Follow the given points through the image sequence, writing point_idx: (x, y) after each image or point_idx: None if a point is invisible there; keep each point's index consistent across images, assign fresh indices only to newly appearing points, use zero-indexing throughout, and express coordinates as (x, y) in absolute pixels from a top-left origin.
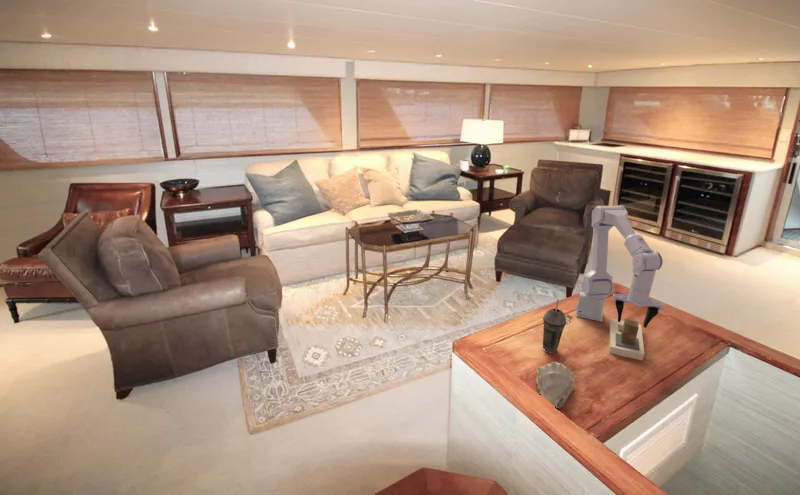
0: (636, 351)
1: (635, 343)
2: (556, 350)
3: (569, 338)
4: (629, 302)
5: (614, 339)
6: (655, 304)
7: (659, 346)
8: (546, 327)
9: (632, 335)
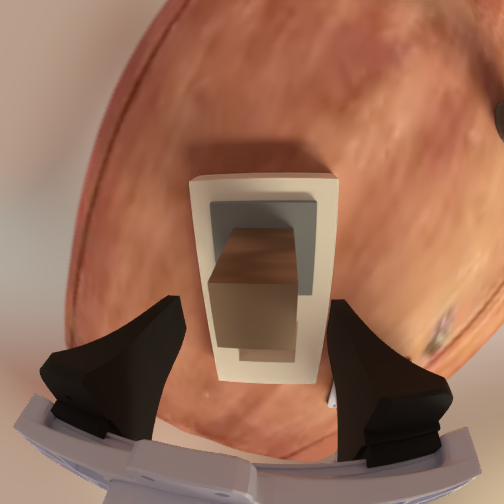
0: (222, 189)
1: None
2: (500, 110)
3: (463, 219)
4: (327, 484)
5: (319, 250)
6: (44, 447)
7: (158, 300)
8: None
9: (243, 250)
